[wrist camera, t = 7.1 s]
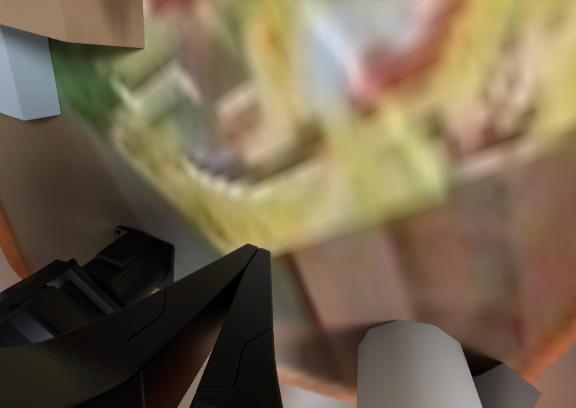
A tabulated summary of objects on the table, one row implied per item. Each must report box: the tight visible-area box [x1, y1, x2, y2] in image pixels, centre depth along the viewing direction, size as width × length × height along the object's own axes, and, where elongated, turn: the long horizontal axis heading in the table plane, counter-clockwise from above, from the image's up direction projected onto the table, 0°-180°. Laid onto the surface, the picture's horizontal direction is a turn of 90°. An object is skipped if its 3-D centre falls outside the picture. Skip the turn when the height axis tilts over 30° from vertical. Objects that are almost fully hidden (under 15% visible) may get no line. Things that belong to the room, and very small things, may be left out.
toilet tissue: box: [357, 320, 542, 408], centre depth 22 cm, size 9×13×9 cm
